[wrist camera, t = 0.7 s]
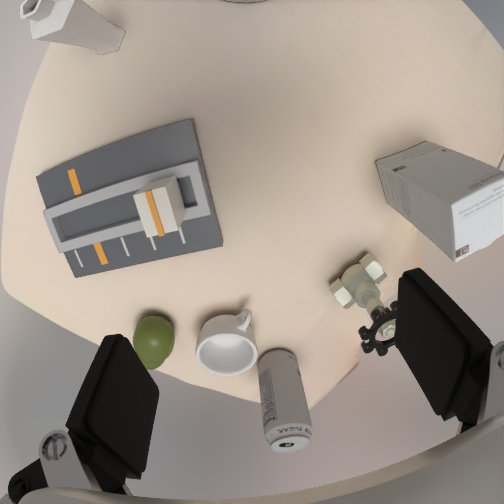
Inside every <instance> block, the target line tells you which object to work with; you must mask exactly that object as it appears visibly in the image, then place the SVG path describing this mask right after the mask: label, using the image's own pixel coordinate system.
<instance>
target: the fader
mask: <svg viewBox="0 0 504 504" xmlns="http://www.w3.org/2000/svg"><path fill="white" fill-rule="evenodd" d="M133 197H134V200H135V204H136V207H137V210H138V213H139V216H140V219H141V222H142V225H143V228H144V230H145V233H146V236H147V238H148V237H152V236H156V235H159V237H160V236H164V235H165V233H169V232H173V231H177V230H179V228H180V226H181V223H182V221H183V219H184V217H185V215H186V211H185V208H184V203H185V201H184V197H183V194H182V190H181V187H180V183H179V181H177V179H176V175H175V176H171V177H167V178H164V179H160V180H156V181H153V182H149V183H147V184H146V185H144V186H143V187H142V188H141V189H140V190H139V191H137V192H136V193H135V194H134V195H133Z"/></svg>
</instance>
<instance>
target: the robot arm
mask: <svg viewBox="0 0 504 504" xmlns="http://www.w3.org/2000/svg"><path fill="white" fill-rule="evenodd" d="M225 1H232V2H243V3H250V2H260V1H265V0H225ZM394 339H395V344H396V346H397V348H398V349H399V351H400V353H401V354H402V356H403V358H404V359H405V361H406V363H407V364H408V366H409V368H410V369H411V371H412V373H413V374H414V376H415V378H416V380H417V382H418V383H419V385H420V387H421V389H422V390H423V392H424V394H425V396H426V397H427V399H428V401H429V402H430V405H431V407H432V408H433V410H434V412H435V413H436V415H438V416H439V415H441V416H442V418H443V420H444V421H446V420H448V419H450V418H452V417H454V416H457V418H458V420H459V421H460V422H459V426H458V430H457V434H456V436H455V437H453V438H451V439H450V440H447V441H445V442H443V443H442V444H439V445H437V446H435V447H433V448H431V449H428V450H426V451H424V452H422V453H419V454H417V455H415V456H412V457H410V458H408V459H405V460H403V461H400V462H398V463H395V464H392V465H390V466H387V467H384V468H381V469H378V470H376V471H373V472H369V473H366V474H363V475H360V476H357V477H353V478H350V479H346V480H343V481H339V482H335V483H331V484H327V485H323V486H319V487H314V488H309V489H304V490H299V491H293V492H288V493H281V494H274V495H266V496H258V497H248V498H235V499H216V500H179V499H160V498H147V497H138V496H133V495H132V493H131V491H130V490H129V488H128V487H127V485H126V484H125V479H126V478H130V479H141V474H142V472H144V471H145V469H146V463H147V457H148V451H149V446H150V440H151V435H152V429H153V424H154V419H155V414H156V409H157V403H158V399H159V389H158V387H157V385H156V383H155V382H154V380H153V379H152V377H151V376H150V374H149V373H148V371H147V369H146V368H145V366H144V365H143V363H142V361H141V360H140V358H139V357H138V355H137V353H136V352H135V350H134V348H133V347H132V345H131V343H130V341H129V340H128V338H126V337H123V335H121V334H114V335H107V336H105V337H104V339H103V341H102V343H101V345H100V347H99V349H98V351H97V353H96V355H95V358H94V360H93V362H92V364H91V366H90V369H89V371H88V373H87V375H86V377H85V380H84V382H83V384H82V386H81V389H80V391H79V393H78V395H77V398H76V401H75V403H74V405H73V407H72V410H71V412H70V415H69V418H68V420H67V422H66V427H67V428H68V429H69V431H68V433H66V432H65V431H63V430H54V431H52V432H50V433H49V434H47V435H46V436H45V437H44V438H43V440H42V441H41V444H40V446H39V456H40V458H39V459H38V460H36V461H35V462H33V463H31V464H30V465H29V466H27V467H25V468H24V469H22V470H21V471H19V472H18V473H16V474H15V475H14V476H13V477H12V478H11V480H10V481H9V485H8V493H9V495H8V494H5V495H4V496H3V497H2V498H1V500H0V504H504V341H501V342H499V343H498V344H496V345H495V346H493V345H492V344H491V343H490V342H491V341H490V340H489V338H488V337H487V336H486V335H485V334H484V333H483V332H482V331H481V329H480V328H479V327H478V326H477V325H476V324H475V323H474V322H473V321H472V320H471V318H470V317H469V316H468V315H467V314H466V313H465V312H464V311H463V310H462V309H461V308H460V307H459V306H458V305H457V304H456V303H455V302H454V301H453V300H452V299H451V298H450V297H449V296H448V295H447V294H446V293H445V292H444V291H443V290H442V289H441V288H440V287H439V286H438V285H437V284H436V283H435V282H434V281H433V280H432V279H431V278H430V277H429V276H428V275H427V274H426V273H425V272H424V271H423V270H422V269H420V268H415V269H412V270H409V271H405V272H404V273H403V275H402V277H400V278H399V282H398V301H397V314H396V325H395V335H394Z"/></svg>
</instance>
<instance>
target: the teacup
mask: <svg viewBox="0 0 504 504" xmlns="http://www.w3.org/2000/svg"><path fill="white" fill-rule="evenodd" d="M246 315H247V317H246V320H245V316H246ZM251 317H252V312H251V310H248V309H246V310H244V311H243V312H241V313H240V314H239V315H237V316H233V315H219V316H216V317H214V318H212V319H210V320H209V321H207V322H206V323H205V324H204V326H203V327H202V329H201V331H200V333H199V336H198V340H197V344H196V359H197V361H198V363H199V365H200V366H201V367H202V368H203V369H204V370H206V371H207V372H209V373H212V374H215V375H219V376H234V375H238V374H241V373H243V372H245V371H247V370H249V369H250V368H251V367H252V366H253V365H254V363H255V362H256V359H257V355H258V350H257V345H256V340H255V337H254V334H253V332H252V329H251V327H250V326H249V323H250V320H251Z"/></svg>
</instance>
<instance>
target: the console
mask: <svg viewBox="0 0 504 504" xmlns="http://www.w3.org/2000/svg"><path fill="white" fill-rule="evenodd" d="M175 175H176V179H177V181H179V183H180V187H181V190H182V194H183V197H184V201H185V203H184V208H185V211H186V215H185V217H184V219H183V221H182V223H181V226H180V228H179V230H177V231H173V232H169V233H165V235H164V236H160V237H159V235H156V236H152V237H148V238H147V236H146V233H145V230H144V228H143V225H142V222H141V219H140V216H139V213H138V210H137V207H136V204H135V200H134V197H133V195H134V194H135V193H136V192H137V191H139V190H140V189H141V188H142V187H143V186H144V185H146V184H147V183H149V182H153V181H156V180H160V179H164V178H167V177H171V176H175ZM36 179H37V182H38V185H39V188H40V192H41V195H42V198H43V200H44V203H45V206H46V209H45V210H44V211H42V212H43V215H44V217H45V220H46V223H47V225H48V228H49V230H50V233H51V235H52V238H53V240H54V243H55V245H56V247H57V250H58V252H59V253H63V252H64V254H65V257H66V259H67V261H68V263H69V265H70V268H71V270H72V272H73V274H74V276H75V278H78V277H82V276H87V275H91V274H96V273H100V272H105V271H109V270H114V269H119V268H123V267H128V266H132V265H137V264H141V263H146V262H151V261H155V260H160V259H165V258H169V257H174V256H179V255H183V254H188V253H193V252H197V251H202V250H207V249H212V248H216V247H221V246H223V238H222V234H221V231H220V227H219V223H218V219H217V215H216V211H215V207H214V204H213V200H212V196H211V192H210V188H209V184H208V180H207V176H206V172H205V168H204V164H203V160H202V155H201V151H200V147H199V143H198V139H197V135H196V130H195V126H194V122H193V119H188V120H184V121H180V122H177V123H173V124H170V125H166V126H163V127H160V128H157V129H153V130H150V131H147V132H144V133H141V134H138V135H135V136H132V137H129V138H126V139H123V140H121V141H118V142H115V143H112V144H110V145H107V146H104V147H102V148H99V149H97V150H94V151H92V152H89V153H87V154H84V155H82V156H80V157H77V158H75V159H73V160H70V161H68V162H66V163H64V164H61V165H59V166H57V167H55V168H53V169H51V170H49V171H47V172H44V173H42V174H40V175H38V176H36Z"/></svg>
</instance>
